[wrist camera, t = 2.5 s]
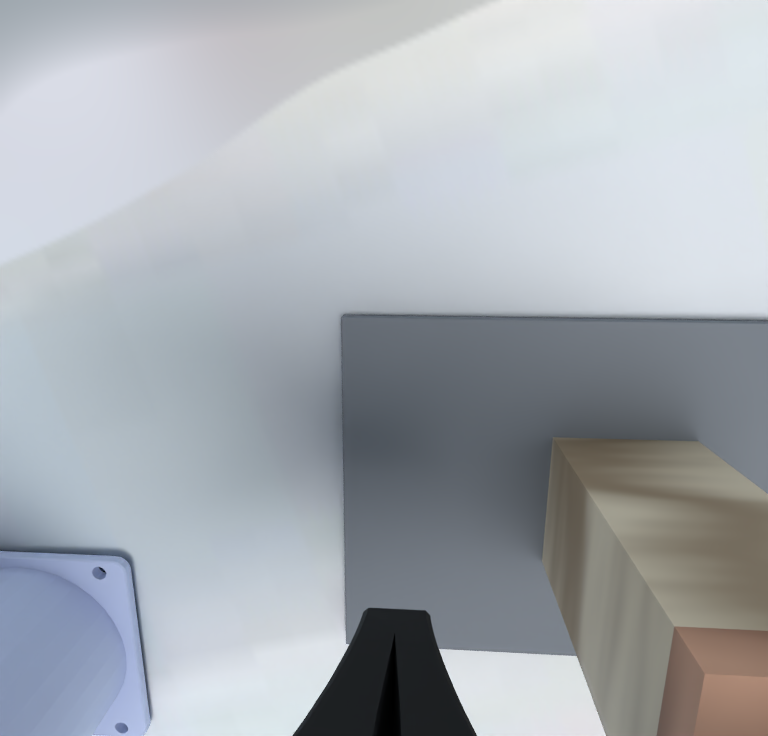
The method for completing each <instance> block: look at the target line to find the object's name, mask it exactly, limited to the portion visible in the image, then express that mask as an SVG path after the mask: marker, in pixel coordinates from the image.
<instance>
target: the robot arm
mask: <svg viewBox="0 0 768 736" xmlns="http://www.w3.org/2000/svg"><path fill="white" fill-rule="evenodd" d="M99 567H101V568H103V569H104V570H105V572H106V573H104V572H102V571H101V570H100V569H99ZM149 726H150V715H149V707H148V699H147V691H146V683H145V676H144V668H143V660H142V652H141V644H140V636H139V629H138V621H137V613H136V605H135V597H134V589H133V581H132V574H131V568H130V565H129V563H128V562H127V561H126V560H125V559H123V558H122V557H118V556H103V555H79V554H56V553H33V552H9V551H0V736H92V735H99V736H144V735H145V733H146V732H147V730H148V728H149ZM293 736H477V735H476V733H475V731H474V729H473V727H472V725H471V723H470V721H469V719H468V717H467V715H466V713H465V711H464V709H463V707H462V705H461V703H460V700H459V698H458V696H457V694H456V691H455V689H454V687H453V684H452V682H451V680H450V677H449V675H448V673H447V670H446V668H445V665H444V662H443V660H442V657H441V654H440V651H439V648H438V645H437V642H436V639H435V635H434V632H433V628H432V623H431V616H430V614H429V613H428V612H427V611H426V610H409V609H388V608H367V609H366V610H365V611H364V612H363V614H362V617H361V620H360V623H359V625H358V628H357V630H356V632H355V634H354V636H353V638H352V641H351V643H350V645H349V646H348V648H347V650H346V652H345V654H344V656H343V658H342V660H341V661H340V663H339V665H338V667H337V668H336V670H335V672H334V674H333V675H332V677H331V679H330V681H329V682H328V684H327V686H326V687H325V689H324V690H323V692H322V693H321V695H320V696H319V698H318V699H317V701H316V703H315V704H314V706H313V707H312V709H311V710H310V712H309V713H308V715H307V716H306V718H305V719H304V721H303V722H302V723H301V725H300V726H299V727H298V729H297V730H296V732H295V733H294V734H293Z"/></svg>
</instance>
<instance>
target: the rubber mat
mask: <svg viewBox="0 0 768 736" xmlns="http://www.w3.org/2000/svg"><path fill="white" fill-rule="evenodd" d="M341 339H342V406H343V472H344V538H345V604H346V644H350V643H351V641H352V638H353V636H354V634H355V632H356V630H357V628H358V625H359V623H360V620H361V617H362V614H363V612H364V611H365V610H366V609H367V608H388V609H409V610H426V611H427V612H428V613H429V614H430V616H431V623H432V628H433V632H434V635H435V639H436V642H437V645H438V648H439V649H454V650H473V651H492V652H511V653H531V654H550V655H569V656H577V655H576V652H575V649H574V647H573V644H572V641H571V639H570V636H569V633H568V631H567V628H566V625H565V622H564V620H563V617H562V614H561V612H560V609H559V606H558V603H557V601H556V598H555V595H554V593H553V590H552V587H551V584H550V582H549V579H548V576H547V574H546V571H545V568H544V565H543V563H542V555H543V544H544V532H545V521H546V510H547V498H548V487H549V476H550V464H551V453H552V441H553V437H560V438H596V439H632V440H668V441H699V442H700V443H701V444H703V445H704V446H705V447H707V448H708V449H709V450H711V451H712V452H713V453H715V454H716V455H717V456H718V457H720V458H721V459H722V460H724V461H725V462H726V463H728V464H729V465H730V466H732V467H733V468H734V469H736V470H737V471H738V472H740V473H741V474H742V475H744V476H745V477H746V478H747V479H749V480H750V481H751V482H753V483H754V484H755V485H757V486H758V487H759V488H761V489H762V490H763V491H765V492H766V493H767V494H768V321H739V320H670V319H601V318H532V317H463V316H394V315H343V316H342V317H341Z"/></svg>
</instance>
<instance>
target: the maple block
mask: <svg viewBox="0 0 768 736" xmlns="http://www.w3.org/2000/svg"><path fill="white" fill-rule="evenodd" d="M542 563H543V565H544V568H545V571H546V574H547V576H548V579H549V582H550V584H551V587H552V590H553V593H554V595H555V598H556V601H557V603H558V606H559V609H560V612H561V614H562V617H563V620H564V622H565V625H566V628H567V631H568V633H569V636H570V639H571V641H572V644H573V647H574V649H575V652H576V655H577V658H578V660H579V663H580V666H581V668H582V671H583V674H584V677H585V679H586V682H587V685H588V687H589V690H590V693H591V696H592V698H593V701H594V704H595V706H596V709H597V712H598V715H599V717H600V720H601V723H602V725H603V728H604V731H605V733H606V736H768V494H767V493H766V492H765V491H763V490H762V489H761V488H759V487H758V486H757V485H755V484H754V483H753V482H751V481H750V480H749V479H747V478H746V477H745V476H744V475H742V474H741V473H740V472H738V471H737V470H736V469H734V468H733V467H732V466H730V465H729V464H728V463H726V462H725V461H724V460H722V459H721V458H720V457H718V456H717V455H716V454H715V453H713V452H712V451H711V450H709V449H708V448H707V447H705V446H704V445H703V444H701V443H700V442H699V441H668V440H632V439H596V438H560V437H553V441H552V453H551V464H550V476H549V487H548V498H547V510H546V521H545V532H544V544H543V555H542Z"/></svg>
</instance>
